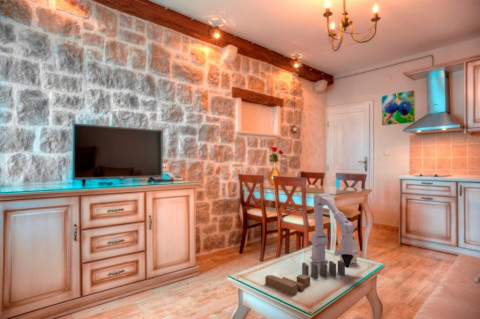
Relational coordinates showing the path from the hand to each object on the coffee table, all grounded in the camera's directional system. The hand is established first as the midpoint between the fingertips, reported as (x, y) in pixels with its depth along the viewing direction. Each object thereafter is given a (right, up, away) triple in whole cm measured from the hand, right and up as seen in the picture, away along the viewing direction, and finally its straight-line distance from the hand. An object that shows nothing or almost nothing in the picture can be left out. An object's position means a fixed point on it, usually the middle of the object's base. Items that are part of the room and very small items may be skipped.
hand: (346, 267), depth 153 cm
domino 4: (-9, -4, -2) cm, 10 cm away
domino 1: (-25, -4, -4) cm, 26 cm away
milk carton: (+9, -4, +19) cm, 21 cm away
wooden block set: (-36, -4, -14) cm, 39 cm away
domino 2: (-20, -4, -3) cm, 20 cm away
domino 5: (-3, -4, -1) cm, 5 cm away
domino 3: (-14, -4, -2) cm, 15 cm away
